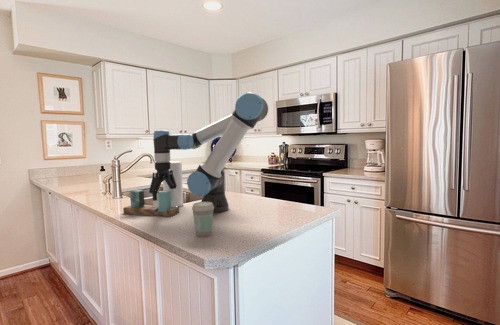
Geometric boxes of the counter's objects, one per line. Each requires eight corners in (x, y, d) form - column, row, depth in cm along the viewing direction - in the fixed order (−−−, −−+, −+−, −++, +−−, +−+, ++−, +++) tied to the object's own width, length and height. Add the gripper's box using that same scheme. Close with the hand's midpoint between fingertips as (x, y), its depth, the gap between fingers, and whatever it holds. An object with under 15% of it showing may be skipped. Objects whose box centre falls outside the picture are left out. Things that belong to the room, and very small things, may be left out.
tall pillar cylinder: (186, 203, 163) (184, 161, 161) (178, 207, 152) (176, 162, 150) (169, 203, 165) (167, 161, 163) (160, 207, 154) (158, 162, 152)
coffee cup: (194, 231, 111) (192, 201, 110) (215, 230, 112) (214, 200, 111) (191, 238, 103) (190, 206, 102) (214, 237, 103) (213, 205, 102)
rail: (179, 212, 141) (178, 190, 140) (171, 216, 134) (170, 193, 134) (132, 210, 149) (131, 189, 148) (123, 213, 142) (122, 191, 141)
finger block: (171, 210, 141) (170, 190, 140) (167, 212, 137) (166, 192, 136) (161, 209, 142) (160, 190, 141) (157, 211, 138) (156, 192, 137)
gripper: (169, 160, 150) (171, 198, 152) (139, 163, 127) (141, 209, 128) (182, 160, 148) (183, 199, 150) (153, 163, 124) (155, 210, 126)
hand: (164, 203), depth 139 cm, fingers open, 13 cm apart
